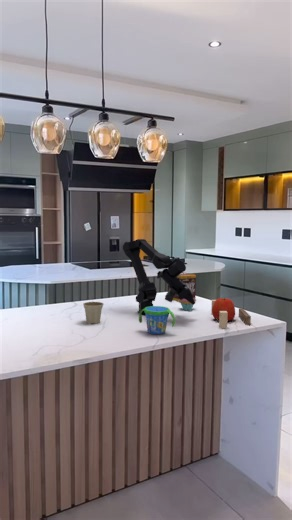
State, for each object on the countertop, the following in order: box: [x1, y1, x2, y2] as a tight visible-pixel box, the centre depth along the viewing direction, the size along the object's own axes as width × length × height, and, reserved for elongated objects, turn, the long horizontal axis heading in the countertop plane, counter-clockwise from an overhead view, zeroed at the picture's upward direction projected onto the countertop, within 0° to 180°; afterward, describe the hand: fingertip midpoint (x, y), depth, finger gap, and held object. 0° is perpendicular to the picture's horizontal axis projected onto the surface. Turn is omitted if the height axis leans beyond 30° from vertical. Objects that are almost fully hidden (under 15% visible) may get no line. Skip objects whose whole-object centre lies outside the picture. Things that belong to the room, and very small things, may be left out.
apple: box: [211, 297, 236, 322], centre depth 183 cm, size 11×11×11 cm
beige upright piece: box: [211, 299, 228, 329], centre depth 182 cm, size 3×28×7 cm, turn 178°
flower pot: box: [82, 301, 105, 325], centre depth 178 cm, size 9×9×9 cm
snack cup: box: [138, 305, 176, 335], centre depth 162 cm, size 16×10×10 cm
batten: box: [238, 308, 252, 326], centre depth 182 cm, size 2×16×4 cm, turn 178°
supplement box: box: [167, 271, 197, 303], centre depth 231 cm, size 10×15×16 cm
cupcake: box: [178, 298, 196, 311], centre depth 205 cm, size 9×8×12 cm
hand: (194, 303), depth 183 cm, fingers closed
